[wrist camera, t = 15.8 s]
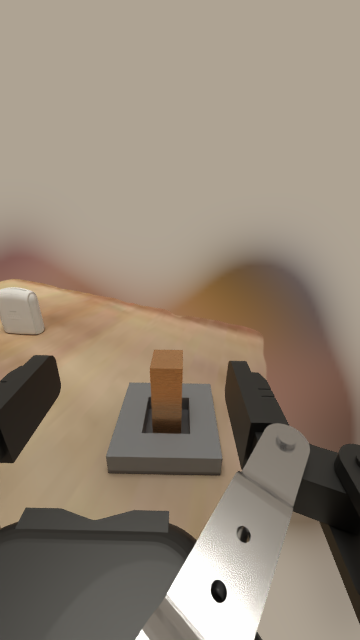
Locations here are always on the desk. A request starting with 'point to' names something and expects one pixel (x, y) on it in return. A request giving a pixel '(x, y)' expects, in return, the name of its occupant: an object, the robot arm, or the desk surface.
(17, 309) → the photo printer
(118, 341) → the desk surface
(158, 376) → the bracket post
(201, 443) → the well stand
